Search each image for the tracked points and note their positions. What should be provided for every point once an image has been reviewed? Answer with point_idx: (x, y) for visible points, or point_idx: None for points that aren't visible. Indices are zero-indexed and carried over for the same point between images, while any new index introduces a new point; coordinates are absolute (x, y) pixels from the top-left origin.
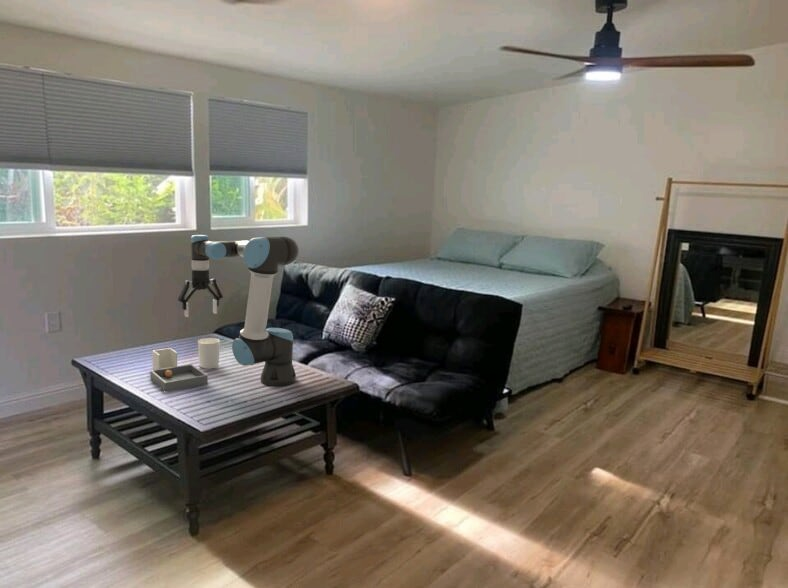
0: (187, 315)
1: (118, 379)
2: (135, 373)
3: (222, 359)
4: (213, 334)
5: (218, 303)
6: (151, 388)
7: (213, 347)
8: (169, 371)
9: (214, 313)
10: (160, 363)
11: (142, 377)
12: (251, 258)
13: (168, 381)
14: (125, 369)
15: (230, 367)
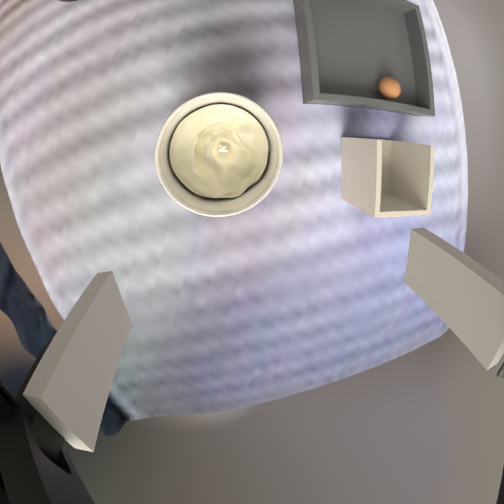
0: (430, 234)
1: (462, 165)
2: None
3: (150, 205)
4: (140, 418)
5: (35, 364)
6: None
7: (213, 98)
8: (393, 80)
9: (120, 295)
10: (381, 197)
11: None
12: None
13: (391, 55)
14: None
15: (154, 99)
